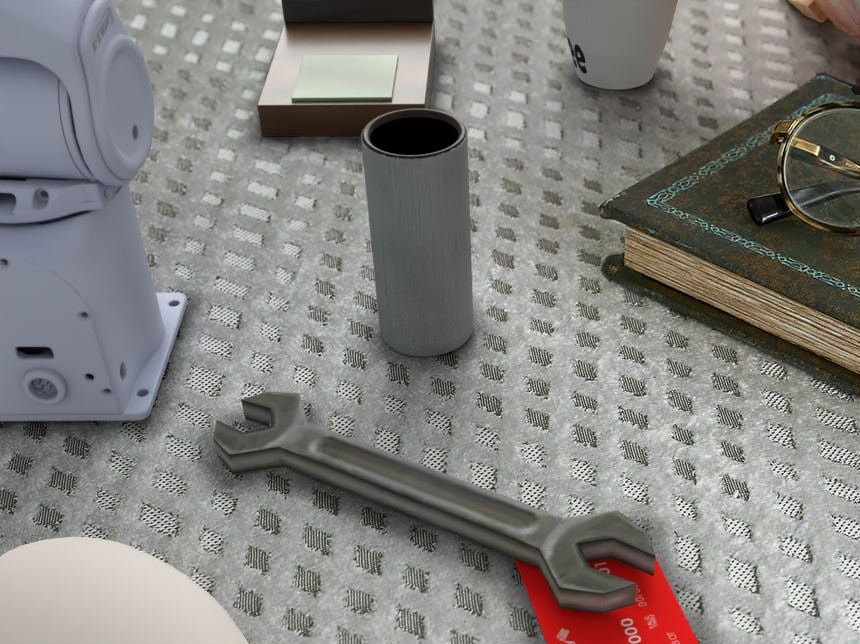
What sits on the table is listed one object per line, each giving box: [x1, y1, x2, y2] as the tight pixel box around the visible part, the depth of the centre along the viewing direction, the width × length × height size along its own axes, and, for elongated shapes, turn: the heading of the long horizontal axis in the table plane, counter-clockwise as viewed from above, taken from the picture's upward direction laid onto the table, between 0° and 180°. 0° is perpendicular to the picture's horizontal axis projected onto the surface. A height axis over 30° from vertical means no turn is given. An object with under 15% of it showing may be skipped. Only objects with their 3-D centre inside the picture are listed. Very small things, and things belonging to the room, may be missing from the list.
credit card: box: [514, 557, 700, 644], centre depth 45 cm, size 8×5×1 cm, turn 15°
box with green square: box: [257, 0, 437, 137], centre depth 76 cm, size 13×10×4 cm
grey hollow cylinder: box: [360, 108, 474, 357], centre depth 54 cm, size 4×4×10 cm
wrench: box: [212, 391, 656, 614], centre depth 48 cm, size 5×2×20 cm
